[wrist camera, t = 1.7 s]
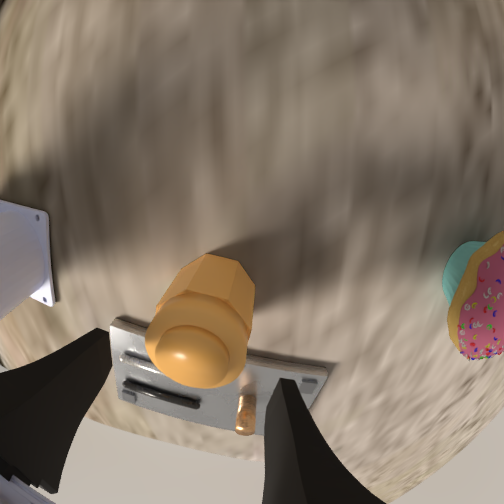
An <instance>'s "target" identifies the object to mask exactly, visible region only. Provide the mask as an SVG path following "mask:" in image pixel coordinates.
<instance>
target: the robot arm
mask: <svg viewBox="0 0 504 504" xmlns="http://www.w3.org/2000/svg"><path fill="white" fill-rule="evenodd" d="M39 218H40V219H39ZM29 296H30V297H32V298H34V299H36V300H38V301H40V302H42V303H44V304H46V305H48V306H51V307H52V306H53V305H55V296H54V288H53V280H52V270H51V259H50V242H49V216H48V214H47V213H46V212H45V211H41V210H37V209H33V208H30V207H26V206H22V205H18V204H15V203H11V202H7V201H3V200H0V320H1V319H3V318H4V317H5V316H6V315H7V314H9V313H10V312H11V311H12V310H13V309H15V308H16V307H17V306H18V305H19V304H21V303H22V302H23V301H24V300H26V299H27V298H28V297H29ZM111 368H112V358H111V349H110V339H109V332H107V331H104V330H102V329H99V328H95V329H94V330H92V331H90V332H88V333H87V334H85V335H83V336H82V337H80V338H78V339H77V340H75V341H73V342H71V343H70V344H68V345H66V346H64V347H63V348H61V349H59V350H57V351H55V352H53V353H51V354H49V355H47V356H45V357H43V358H41V359H39V360H37V361H35V362H33V363H30V364H27V365H25V366H22V367H19V368H16V369H13V370H9V371H5V372H2V373H0V504H56V503H54V502H52V501H51V500H49V499H48V498H46V497H44V496H43V495H41V494H40V493H38V492H37V491H35V490H33V489H32V488H31V487H29V486H30V484H32V485H33V486H35V487H36V488H38V487H41V488H42V489H44V490H45V491H47V492H49V493H50V494H54V493H57V492H58V488H59V483H60V479H61V475H62V470H63V467H64V464H65V461H66V457H67V454H68V451H69V449H70V446H71V443H72V441H73V438H74V436H75V433H76V431H77V429H78V427H79V425H80V422H81V421H82V419H83V417H84V416H85V414H86V412H87V411H88V409H89V408H90V406H91V404H92V403H93V401H94V400H95V398H96V396H97V395H98V393H99V391H100V390H101V388H102V387H103V385H104V383H105V381H106V379H107V377H108V374H109V372H110V370H111ZM264 447H265V482H264V492H263V500H262V504H386V503H385V502H383V501H382V500H380V499H379V498H378V497H376V496H375V495H373V494H372V493H371V492H370V491H369V490H367V489H366V488H365V487H364V486H363V485H362V484H361V483H360V482H359V481H358V480H357V479H356V478H355V477H354V476H353V475H352V474H351V473H350V472H349V471H348V470H347V469H346V468H345V467H344V465H343V464H342V463H341V462H340V460H339V459H338V458H337V457H336V455H335V454H334V453H333V451H332V450H331V448H330V447H329V445H328V444H327V442H326V441H325V439H324V438H323V436H322V434H321V433H320V431H319V429H318V428H317V426H316V424H315V422H314V420H313V418H312V416H311V414H310V412H309V410H308V408H307V406H306V404H305V402H304V400H303V398H302V395H301V393H300V391H299V388H298V386H297V383H296V381H295V380H293V379H286V378H279V380H278V383H277V385H276V387H275V389H274V391H273V394H272V396H271V398H270V400H269V402H268V404H267V406H266V414H265V424H264Z"/></svg>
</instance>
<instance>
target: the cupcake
mask: <svg viewBox="0 0 504 504" xmlns="http://www.w3.org/2000/svg"><path fill="white" fill-rule="evenodd" d="M442 286H443V291H444V294H445V296H446V298H447V300H448V303H449V306H450V307H449V311H448V317H447V322H448V328H449V336H450V338H451V340H452V342H453V343H454V344H455V346H456V347H457V349H458V350H459V351H460V353H462V354H463V356H465V357H466V358H467V360H468V361H470V358H471V359H472V360H474V359H475V358H476V359H477V360H480V359H483V358H486V359H488V358H492V357H494V355H496V354H498V355H500V354H501V353H502V352H504V231H502V232H500V233H498V234H496V235H495V236H493V237H492V238H491V239H490V240H489V241H487V242H477V241H469V242H466V243H464V244H462V245H461V246H459V247H458V248H457V249H456V250H455V251H454V253H453V254H452V255H451V257H450V258H449V260H448V262H447V264H446V267H445V269H444V273H443V279H442ZM499 353H500V354H499Z"/></svg>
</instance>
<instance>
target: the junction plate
mask: <svg viewBox="0 0 504 504" xmlns="http://www.w3.org/2000/svg"><path fill="white" fill-rule="evenodd" d="M146 331H147V328H144V327H141V326H138V325H135V324H132V323H129V322H126V321H123V320H120V319H117V318H115V319H114V321H113V322H112V323H111V324H110V335H111V346H112V355H113V364H114V371H115V378H116V385H117V391H118V397H119V399H121V400H124V401H126V402H129V403H132V404H134V405H137V406H140V407H143V408H146V409H149V410H152V411H155V412H158V413H162V414H165V415H168V416H172V417H175V418H179V419H183V420H186V421H190V422H194V423H198V424H203V425H207V426H212V427H216V428H221V429H226V430H232V431H235V432H236V433H237V434H239V435H244V436H249V435H252V434H256V435H263V436H264V424H265V414H266V406H267V404H268V402H269V400H270V398H271V396H272V394H273V391H274V389H275V387H276V385H277V383H278V380H279V378H286V379H293V380H295V381H296V383H297V386H298V388H299V391H300V393H301V395H302V398H303V400H304V402H305V404H306V406H307V408H308V409H309V407H310V406H311V404H312V403H313V401H314V399H315V398H316V396H317V394H318V393H319V391H320V389H321V388H322V386H323V384H324V383H325V381H326V379H327V377H328V374H327V370H326V367H319V366H312V365H305V364H298V363H292V362H286V361H280V360H274V359H269V358H264V357H258V356H253V355H248V354H246V363H245V367H244V369H243V371H242V373H241V374H240V375H239V376H238V378H236V379H235V380H234V381H233V382H231V383H229V384H227V385H224V386H221V387H217V388H208V389H205V388H194V387H189V386H185V385H182V384H180V383H178V382H176V381H174V380H172V379H171V378H169V377H167V376H166V375H165V374H163V373H162V372H161V371H160V370H159V369H158V368H157V367H156V366H155V365H154V364H153V362H152V361H151V359H150V357H149V356H148V353H147V351H146V347H145V334H146Z"/></svg>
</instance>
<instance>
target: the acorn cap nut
mask: <svg viewBox="0 0 504 504" xmlns="http://www.w3.org/2000/svg"><path fill="white" fill-rule="evenodd" d="M254 296H255V285H254V283H253V282H252V280H251V279H250V278H249V276H248V275H247V273H246V272H245V270H244V269H243V267H242V266H241V264H240V263H239V261H236V260H232V259H228V258H224V257H219V256H215V255H211V254H207V253H206V254H205V255H203V256H201V257H200V258H198V259H196V260H195V261H193V262H191V263H190V264H188V265H187V266H185V267H183V268H182V269H181V270H180V272H179V273H178V275H177V276H176V278H175V279H174V281H173V282H172V284H171V285H170V287H169V288H168V289H167V291H166V292H165V294H164V295H163V297H162V298H161V300H160V302H159V303H158V305H157V306H156V315H155V317H154V318H153V320H152V322H151V323H150V325H149V327H148V329H147V331H146V334H145V347H146V351H147V353H148V356H149V357H150V359H151V361H152V362H153V364H154V365H155V366H156V367H157V368H158V369H159V370H160V371H161V372H162V373H163V374H165V375H166V376H167V377H169V378H171V379H172V380H174V381H176V382H178V383H180V384H182V385H185V386H189V387H194V388H205V389H208V388H217V387H221V386H224V385H227V384H229V383H231V382H233V381H234V380H235V379H236V378H238V376H239V375H240V374H241V373H242V371H243V369H244V367H245V363H246V354H247V345H248V340H249V337H250V333H251V330H252V319H253V307H254Z"/></svg>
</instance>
